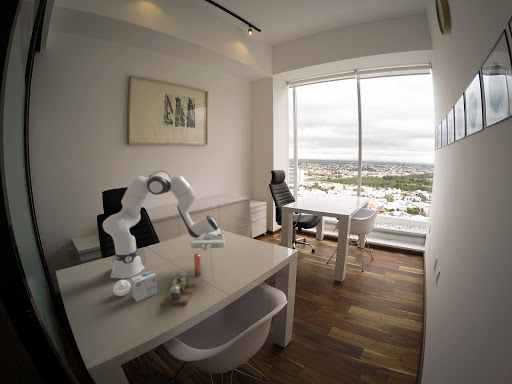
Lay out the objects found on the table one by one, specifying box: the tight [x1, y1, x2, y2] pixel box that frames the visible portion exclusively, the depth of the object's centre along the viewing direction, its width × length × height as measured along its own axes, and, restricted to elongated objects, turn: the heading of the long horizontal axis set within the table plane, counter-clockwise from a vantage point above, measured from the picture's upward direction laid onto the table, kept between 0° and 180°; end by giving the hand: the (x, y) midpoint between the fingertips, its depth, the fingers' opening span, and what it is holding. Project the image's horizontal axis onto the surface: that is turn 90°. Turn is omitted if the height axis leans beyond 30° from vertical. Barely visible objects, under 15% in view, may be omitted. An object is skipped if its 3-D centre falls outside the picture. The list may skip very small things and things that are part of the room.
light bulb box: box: [130, 270, 158, 303], centre depth 119 cm, size 11×7×11 cm, turn 134°
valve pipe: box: [168, 272, 189, 300], centre depth 118 cm, size 14×5×7 cm, turn 178°
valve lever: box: [175, 253, 202, 280], centre depth 117 cm, size 3×13×13 cm, turn 88°
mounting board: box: [161, 283, 197, 306], centre depth 119 cm, size 16×12×2 cm
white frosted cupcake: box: [112, 279, 132, 297], centre depth 120 cm, size 8×8×8 cm
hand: (204, 248), depth 129 cm, fingers closed
